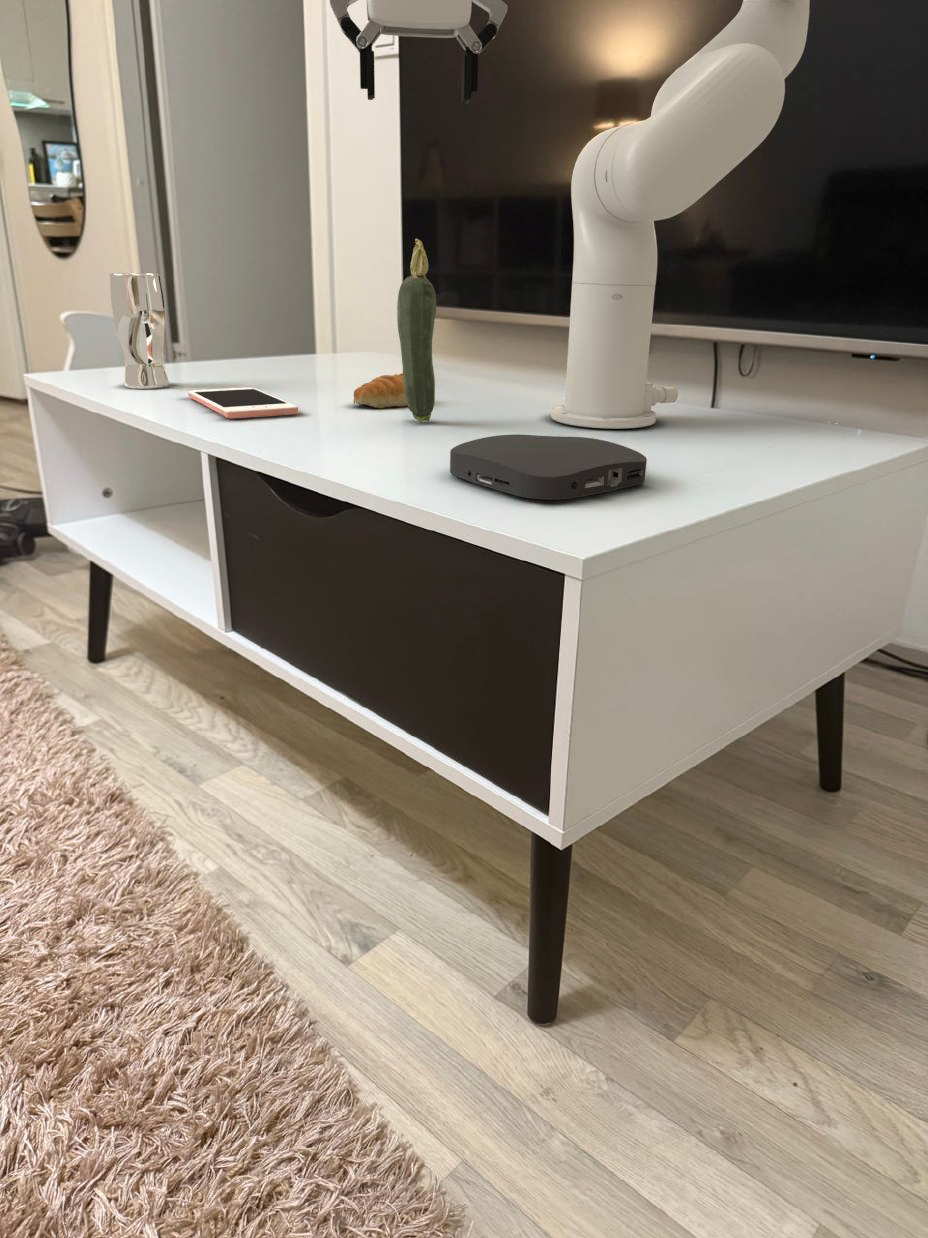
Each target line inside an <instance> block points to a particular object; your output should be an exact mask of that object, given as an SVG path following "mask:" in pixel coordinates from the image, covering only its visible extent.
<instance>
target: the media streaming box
mask: <svg viewBox="0 0 928 1238" xmlns="http://www.w3.org/2000/svg"><path fill="white" fill-rule="evenodd" d="M647 461H648V459H647V457H646V456H645V455H644V454H642V453H641V452H639V451H637V450H634V449H632V448H630V447H628V446H624V445H622V444H619V443H615V442H613V441H608V440H605V439H598V438H592V437H584V436H560V435H559V436H555V435H537V434H498V435H491V436H486V437H481V438H477V439H473V440H468V441H466V442H463V443H459V444H458V445H456V446H454V447H452V448H451V449H450V451H449V473H450V475H452V476H454V477H457V478H459V479H462V480H465V481H469V482H472V483H474V484H476V485H479V486H480V485H481V486H483V487H486V488H490V489H493V490H496V491H499V492H503V493H507V494H509V495H513V496H517V497H521V498H526V499H533V500H548V501H549V500H550V501H551V500H553V501H554V500H556V501H557V500H558V501H559V500H570V499H574V498H581V497H586V496H592V495H597V494H601V493H607V492H611V491H616V490H621V489H625V488H630V487H635V486H640V485H642V484H643V483H645V480H646V471H647Z"/></svg>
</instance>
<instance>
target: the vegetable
mask: <svg viewBox="0 0 928 1238" xmlns="http://www.w3.org/2000/svg"><path fill="white" fill-rule="evenodd" d="M414 241H415V242H414V244H415V245H414V247H413V249H412V256H411V261H410V266H409V267H410V268H409V269H410V275H409V276H407V277H406V278H405V279H404V280H403V281H402V283H401V285H400V287H399V290H398V294H397V295H398V296H397V302H396V315H397V317H396V318H397V319H396V321H397V331H398V337H399V343H400V344H399V345H400V353H401V354H400V355H401V364H402V365H401V366H402V373H403V380H404V388H405V393H406V398H407V403H408V406H407V407H408V410H409V411H410V413H411V414H412V417H413V418H414V419H415V420H416V422H417V423H421V422H427V423H428V422H430V419H431V416H432V412H433V410H434V406H435V401H436V400H435V399H436V380H435V379H436V378H435V370H434V363H433V337H434V336H433V335H434V329H435V321H436V315H437V314H436V313H437V295H436V290H435V287H434V286H433V283H432V282H431V281H430V280H429V279H428V278H427V277H426V274H427V273H428V271H429V261H428V256H427V254H426V250H425V248H424V243H423V242H422V240H420V239H418V238H415V239H414Z"/></svg>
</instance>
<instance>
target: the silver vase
mask: <svg viewBox="0 0 928 1238" xmlns="http://www.w3.org/2000/svg"><path fill="white" fill-rule="evenodd" d="M109 287H110V288H109V290H110V303H111V304H110V305H111V310H112V315H113V316H112V317H113V321H114V325H115V329H116V333H117V336H118V339H119V342H120V346H121V349H122V355H123V359H124V381H123V382H124V385H123V386H124V388H128V389H134V390H151V389H152V390H153V389H162V388H167V387H170V380H169V377H168V374H167V370H166V366H165V358H164V356H165V355H164V351H165V338H166V337H165V336H166V335H165V334H166V305H165V298H164V297H165V296H164V290H163V286H162V280H161V274H160V273H147V272H146V273H145V272H143V273H141V272H111V273H109Z"/></svg>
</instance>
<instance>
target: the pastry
mask: <svg viewBox="0 0 928 1238" xmlns="http://www.w3.org/2000/svg"><path fill="white" fill-rule="evenodd" d="M352 401H353V404H360V405H361V404H362V405H366V406H369V407H373V408H375V409H377V408H378V409H384V408H394V407H399V408H400V407H408V403H407V398H406V393H405V388H404V380H403V372H402V373H399V374H396V373H395V374H393V375H391V374H384V375H380V376H378V377H374V378H373V379H371V380H370V381H368V382H365V383H363V384H362V385H360V386H359V387H357V388H356V389H355V390H353V400H352Z"/></svg>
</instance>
